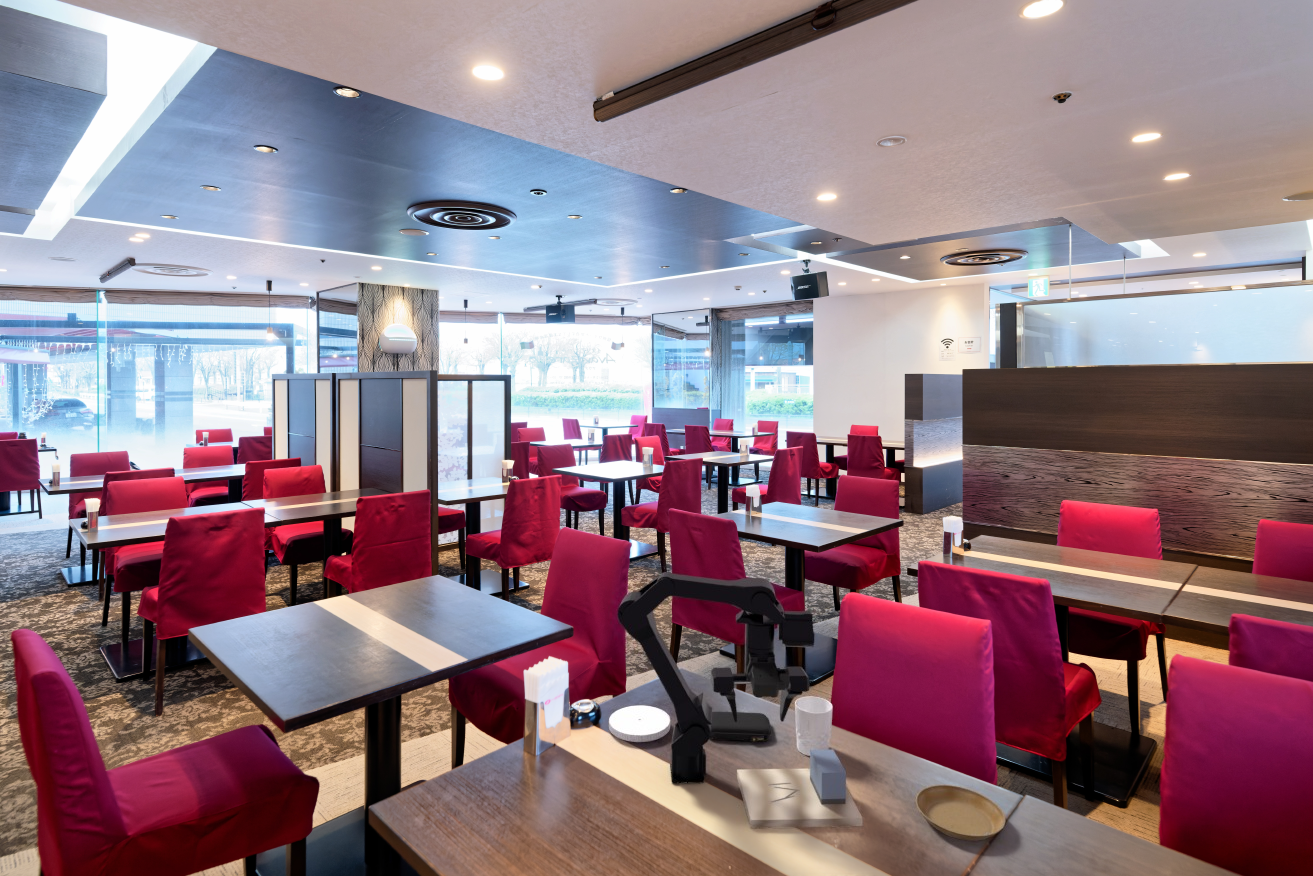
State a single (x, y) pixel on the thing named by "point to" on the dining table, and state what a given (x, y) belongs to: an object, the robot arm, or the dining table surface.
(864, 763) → the dining table surface
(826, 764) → the block
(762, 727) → the carrying case or bag
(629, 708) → the plastic lid
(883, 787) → the dining table surface
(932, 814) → the plant saucer
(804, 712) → the white cup
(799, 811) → the board
